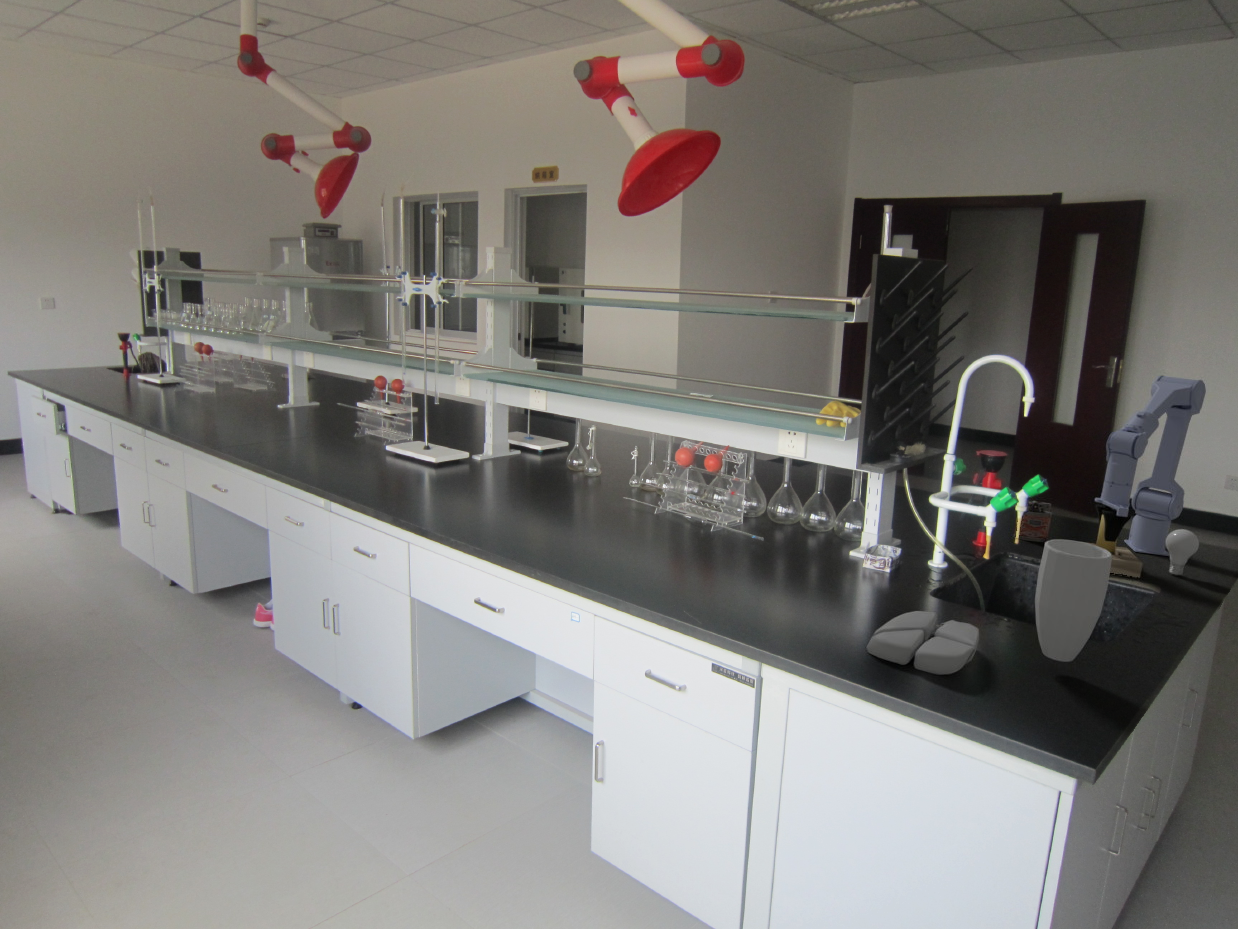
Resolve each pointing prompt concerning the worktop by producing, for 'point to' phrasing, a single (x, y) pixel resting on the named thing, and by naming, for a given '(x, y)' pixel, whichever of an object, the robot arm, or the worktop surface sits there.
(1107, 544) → the dowel
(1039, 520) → the lighter
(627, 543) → the worktop surface
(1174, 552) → the lightbulb
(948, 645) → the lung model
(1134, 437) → the robot arm
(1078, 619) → the cup
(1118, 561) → the socket block
